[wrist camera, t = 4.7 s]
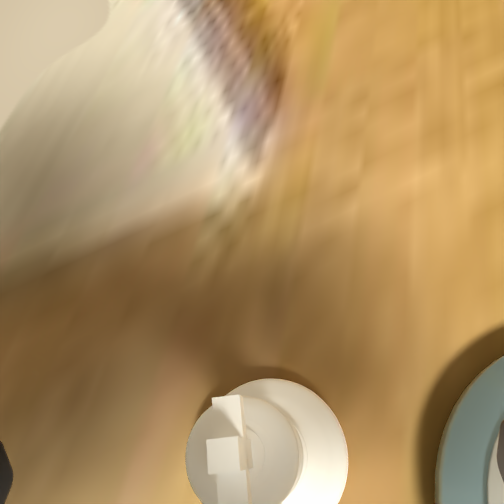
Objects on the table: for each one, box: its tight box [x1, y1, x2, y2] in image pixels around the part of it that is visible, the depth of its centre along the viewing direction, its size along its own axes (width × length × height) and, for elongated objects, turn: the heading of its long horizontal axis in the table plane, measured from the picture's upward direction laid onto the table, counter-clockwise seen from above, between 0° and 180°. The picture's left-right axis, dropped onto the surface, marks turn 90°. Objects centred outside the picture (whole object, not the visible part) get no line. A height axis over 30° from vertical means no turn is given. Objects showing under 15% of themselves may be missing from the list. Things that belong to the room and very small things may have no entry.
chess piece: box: [186, 378, 348, 504], centre depth 11 cm, size 5×5×10 cm
